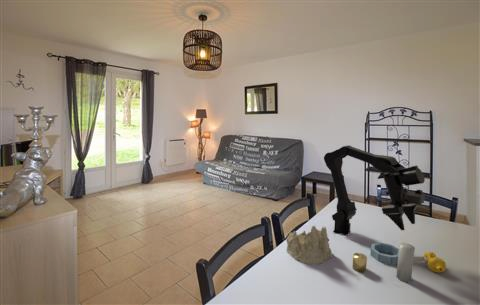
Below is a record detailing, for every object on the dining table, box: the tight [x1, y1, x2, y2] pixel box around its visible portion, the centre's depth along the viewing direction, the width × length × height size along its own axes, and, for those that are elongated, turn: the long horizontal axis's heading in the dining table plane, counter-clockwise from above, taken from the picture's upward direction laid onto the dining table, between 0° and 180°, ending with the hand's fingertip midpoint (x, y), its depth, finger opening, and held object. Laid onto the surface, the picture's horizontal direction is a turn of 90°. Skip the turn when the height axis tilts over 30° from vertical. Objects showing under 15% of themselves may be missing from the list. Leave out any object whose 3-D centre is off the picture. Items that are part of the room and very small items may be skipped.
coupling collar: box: [369, 242, 399, 265], centre depth 102 cm, size 10×10×3 cm
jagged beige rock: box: [286, 225, 333, 265], centre depth 104 cm, size 16×16×15 cm
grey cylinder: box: [396, 242, 416, 283], centre depth 88 cm, size 4×4×12 cm
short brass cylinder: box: [352, 252, 368, 274], centre depth 94 cm, size 5×5×5 cm
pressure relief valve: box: [413, 251, 447, 274], centre depth 95 cm, size 6×12×10 cm
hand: (408, 226), depth 99 cm, fingers open, 9 cm apart
